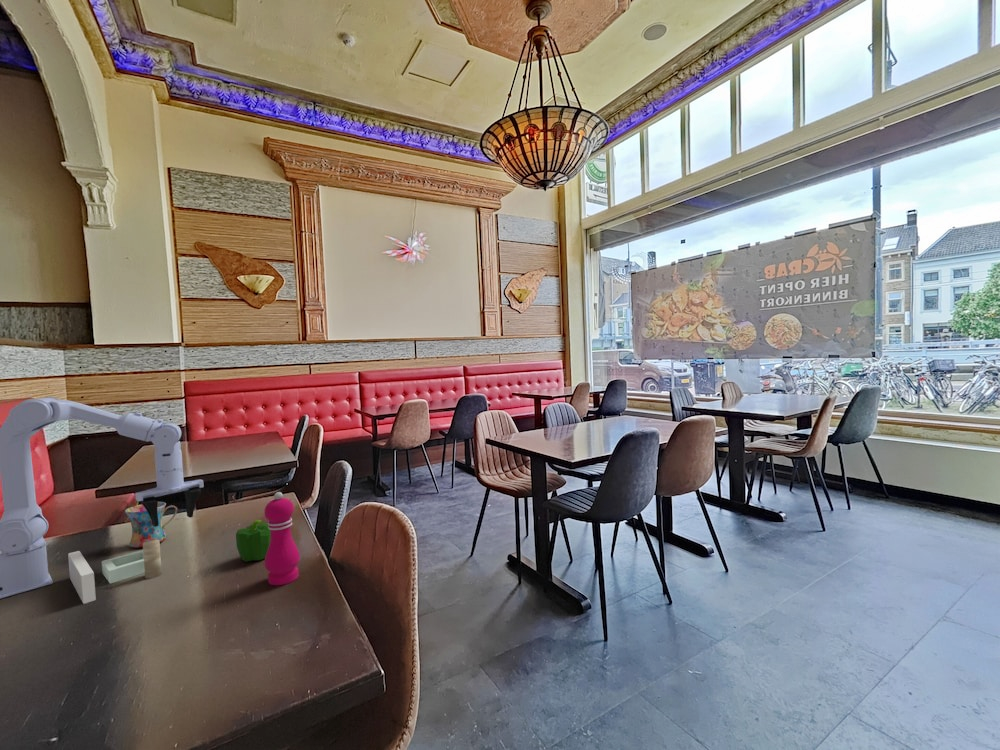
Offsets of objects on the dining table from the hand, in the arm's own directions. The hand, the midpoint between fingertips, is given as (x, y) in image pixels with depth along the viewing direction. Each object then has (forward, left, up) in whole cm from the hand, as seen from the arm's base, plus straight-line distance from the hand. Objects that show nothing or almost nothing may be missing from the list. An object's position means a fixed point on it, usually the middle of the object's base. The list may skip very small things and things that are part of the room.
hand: (173, 521), depth 120 cm
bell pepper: (+12, -20, -10) cm, 25 cm away
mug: (-1, +18, -10) cm, 21 cm away
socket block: (-10, -1, -10) cm, 14 cm away
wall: (-19, -3, -10) cm, 21 cm away
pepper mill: (+11, -38, -10) cm, 41 cm away
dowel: (-7, -9, -10) cm, 14 cm away
